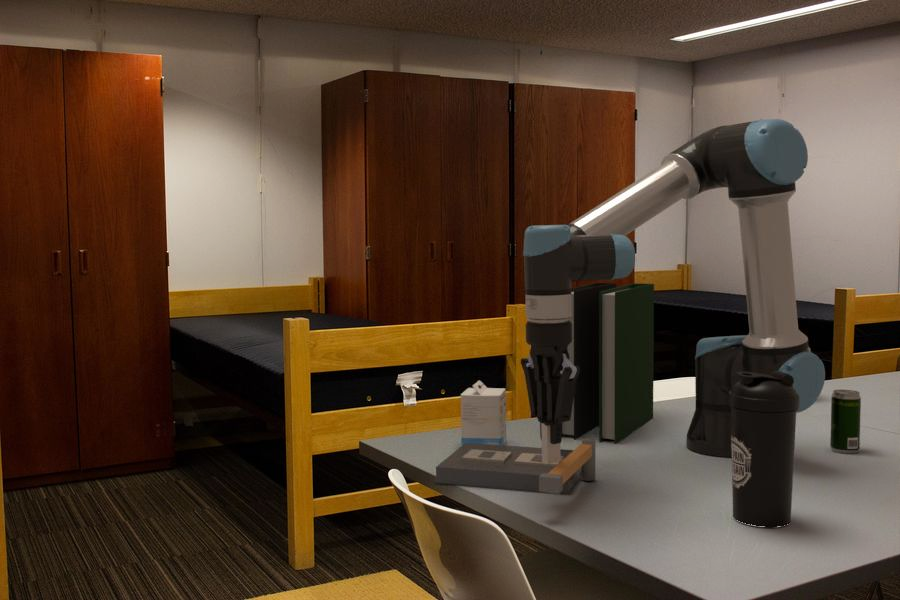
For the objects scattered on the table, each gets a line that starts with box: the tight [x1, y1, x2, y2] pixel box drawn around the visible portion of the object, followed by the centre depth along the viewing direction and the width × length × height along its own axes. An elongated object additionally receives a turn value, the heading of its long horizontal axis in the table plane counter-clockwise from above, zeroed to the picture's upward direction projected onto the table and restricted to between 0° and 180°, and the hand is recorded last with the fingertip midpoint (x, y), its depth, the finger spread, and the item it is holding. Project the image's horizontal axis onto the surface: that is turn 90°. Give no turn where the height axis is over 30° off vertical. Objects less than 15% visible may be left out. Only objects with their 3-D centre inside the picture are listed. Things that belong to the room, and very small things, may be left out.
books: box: [561, 282, 655, 445], centre depth 195 cm, size 27×15×32 cm, turn 152°
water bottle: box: [729, 371, 799, 527], centre depth 134 cm, size 10×10×23 cm
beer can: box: [829, 389, 862, 455], centre depth 173 cm, size 5×5×12 cm
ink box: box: [460, 380, 507, 446], centre depth 181 cm, size 9×8×13 cm
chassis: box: [435, 443, 582, 495], centre depth 160 cm, size 24×18×4 cm
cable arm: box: [538, 437, 596, 495], centre depth 145 cm, size 25×3×7 cm, turn 156°
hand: (551, 461), depth 143 cm, fingers closed
